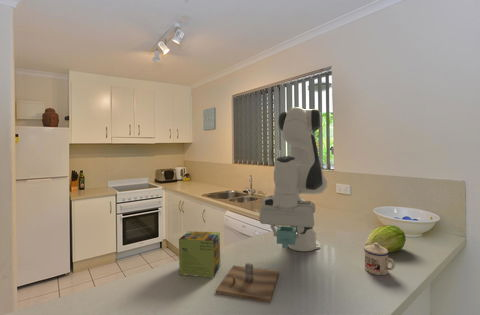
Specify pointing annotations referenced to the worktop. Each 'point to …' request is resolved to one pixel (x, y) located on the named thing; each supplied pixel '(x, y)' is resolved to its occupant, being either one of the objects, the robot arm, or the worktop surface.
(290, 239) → the teal open cubby box
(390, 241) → the lettuce
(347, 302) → the worktop surface
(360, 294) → the worktop surface
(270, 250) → the worktop surface
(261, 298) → the post board
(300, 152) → the robot arm
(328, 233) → the worktop surface
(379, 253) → the teacup with lid
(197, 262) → the protein box
